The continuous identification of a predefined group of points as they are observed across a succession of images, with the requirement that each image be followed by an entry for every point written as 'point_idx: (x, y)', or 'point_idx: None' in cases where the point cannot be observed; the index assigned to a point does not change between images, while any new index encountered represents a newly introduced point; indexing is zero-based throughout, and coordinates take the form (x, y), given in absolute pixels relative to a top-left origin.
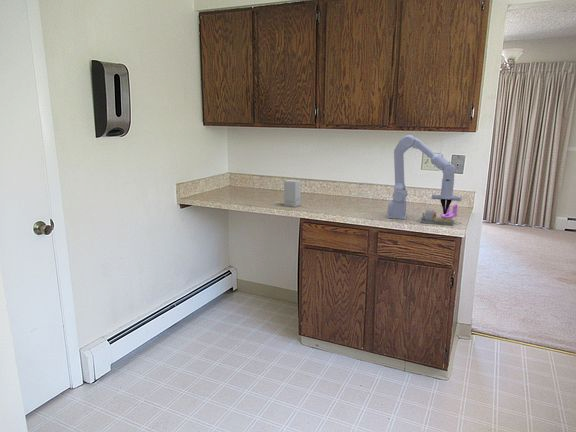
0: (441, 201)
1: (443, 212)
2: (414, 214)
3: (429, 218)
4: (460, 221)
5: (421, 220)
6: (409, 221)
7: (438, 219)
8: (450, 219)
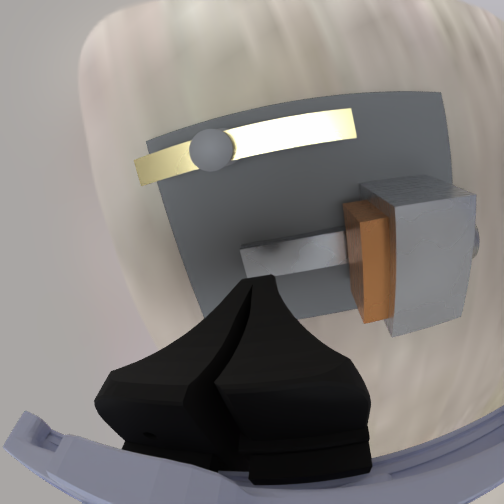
0: (338, 378)
1: (271, 279)
2: (469, 346)
3: (401, 182)
4: (167, 332)
5: (447, 167)
6: (498, 119)
7: (292, 117)
8: (155, 153)
